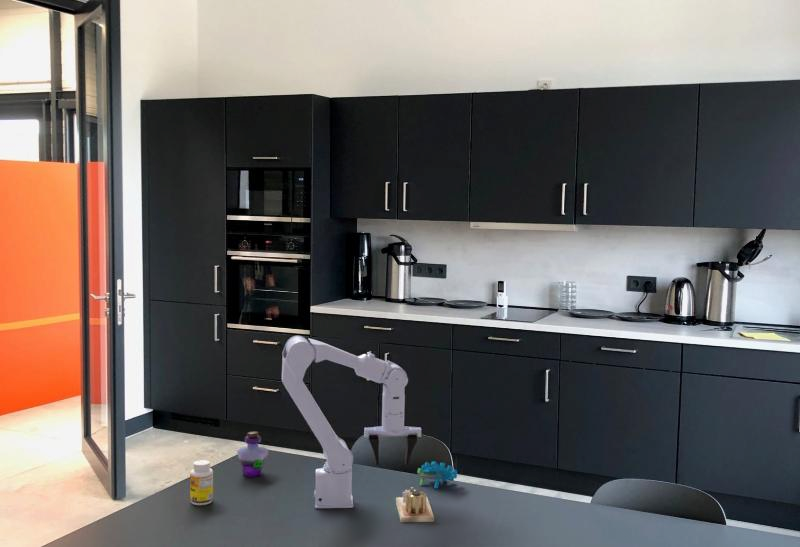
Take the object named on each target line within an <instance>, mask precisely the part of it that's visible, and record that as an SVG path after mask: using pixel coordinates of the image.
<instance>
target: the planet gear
mask: <svg viewBox="0 0 800 547" xmlns="http://www.w3.org/2000/svg"><path fill="white" fill-rule="evenodd" d="M426 497H427V498H428V496H427V494H426V493H425V492H424V491H421V489H420V488H417V487H416V488H414V489H412V492H407V494H406V511H408V513H410V514H411V513H414V514H419V513H425V511H426Z"/></svg>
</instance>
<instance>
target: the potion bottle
mask: <svg viewBox="0 0 800 547" xmlns="http://www.w3.org/2000/svg"><path fill="white" fill-rule="evenodd" d="M261 442H262V437H261V436H260V435H259V431H249V432H247V433H246V436H245V437H244V443H246V444H247V446H244V447H243V446H242V447H240V448H239V449H238V450H237V451H236V452H237V457H238V461H239V463H240V466H241V467H240V468H241V472H242V476H243V477H244V478H249V479H255V478H260V477H261V476H262V475H263V474H264V473H263V471H264V468H265V463H266V462H265V461H267V458H268V454H269V449H268V448H266V447H265V446H260V445H259V443H261ZM261 474H262V475H261ZM260 475H261V476H260Z"/></svg>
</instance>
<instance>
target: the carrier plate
mask: <svg viewBox="0 0 800 547" xmlns="http://www.w3.org/2000/svg"><path fill="white" fill-rule="evenodd" d="M395 503H396V508H397V512H398V517H399V520H400V522H401V523H433V522H435V516H434V513H433V511H432V507H431V504H430V501H429V499H428V496H427V497H426V511H425V513H419V514H414V513H411V514H410V513H408V511H406V503H405V501H403V496H402V497H400V496H399V497H395Z"/></svg>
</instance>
